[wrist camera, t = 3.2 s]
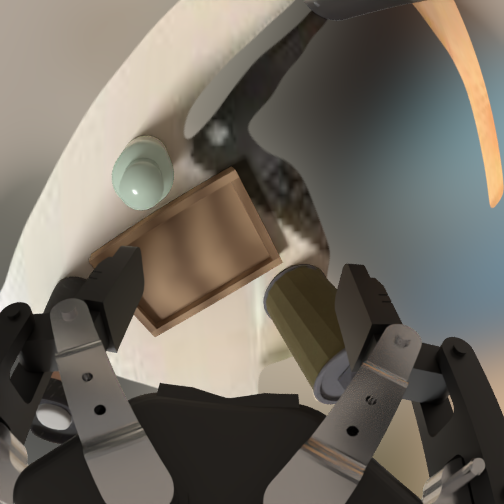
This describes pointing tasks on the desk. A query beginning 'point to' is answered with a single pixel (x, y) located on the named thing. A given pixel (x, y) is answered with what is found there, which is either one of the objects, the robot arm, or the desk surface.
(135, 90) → the desk surface
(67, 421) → the travel mug
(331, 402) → the canister
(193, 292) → the walnut tray
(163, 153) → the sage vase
